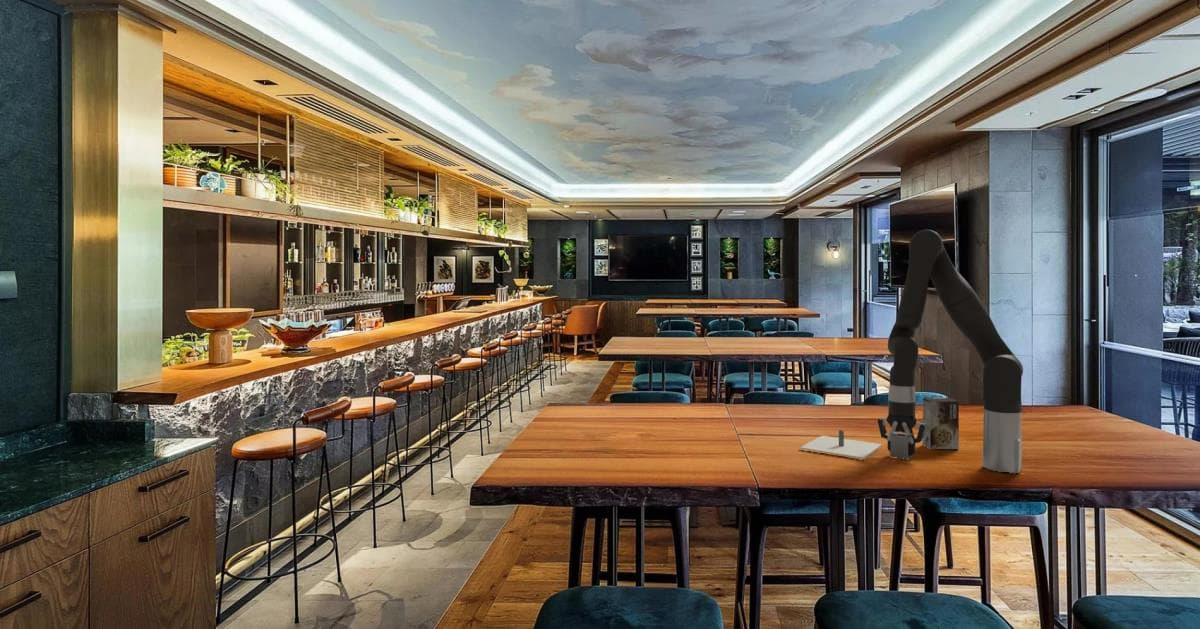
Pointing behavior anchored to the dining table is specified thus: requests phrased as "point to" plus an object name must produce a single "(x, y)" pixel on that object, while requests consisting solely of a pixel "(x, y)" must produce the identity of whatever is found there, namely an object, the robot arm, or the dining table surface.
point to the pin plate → (842, 446)
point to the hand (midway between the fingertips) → (901, 453)
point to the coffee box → (941, 423)
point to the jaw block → (900, 446)
